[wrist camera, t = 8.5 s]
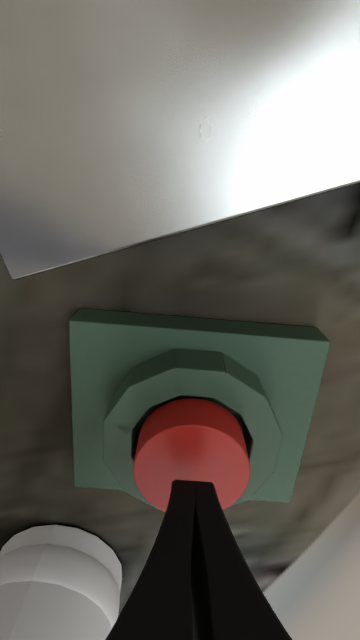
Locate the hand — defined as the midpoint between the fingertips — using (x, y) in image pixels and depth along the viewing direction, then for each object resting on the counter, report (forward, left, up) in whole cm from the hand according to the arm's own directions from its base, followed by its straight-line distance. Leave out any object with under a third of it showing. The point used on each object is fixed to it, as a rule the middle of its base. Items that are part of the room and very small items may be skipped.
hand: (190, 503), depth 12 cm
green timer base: (0, 0, -6) cm, 6 cm away
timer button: (0, 0, -3) cm, 3 cm away
